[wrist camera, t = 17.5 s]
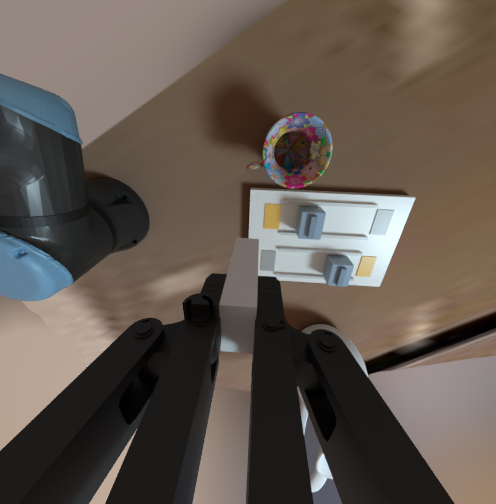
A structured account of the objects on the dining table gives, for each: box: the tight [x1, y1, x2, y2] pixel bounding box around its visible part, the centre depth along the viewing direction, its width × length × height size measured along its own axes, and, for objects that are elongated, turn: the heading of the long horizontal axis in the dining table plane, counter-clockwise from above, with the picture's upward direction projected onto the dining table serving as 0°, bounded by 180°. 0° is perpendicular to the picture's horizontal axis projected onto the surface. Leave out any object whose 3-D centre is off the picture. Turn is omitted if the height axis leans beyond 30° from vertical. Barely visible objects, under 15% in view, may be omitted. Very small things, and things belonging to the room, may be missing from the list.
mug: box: [246, 112, 332, 189], centre depth 33 cm, size 12×9×11 cm
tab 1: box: [295, 206, 326, 240], centre depth 39 cm, size 4×5×5 cm
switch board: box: [249, 187, 415, 287], centre depth 44 cm, size 30×20×3 cm, turn 88°
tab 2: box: [323, 255, 354, 287], centre depth 43 cm, size 4×5×5 cm
